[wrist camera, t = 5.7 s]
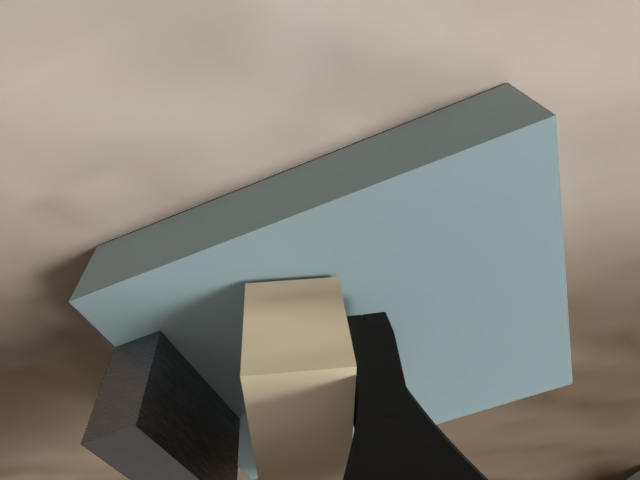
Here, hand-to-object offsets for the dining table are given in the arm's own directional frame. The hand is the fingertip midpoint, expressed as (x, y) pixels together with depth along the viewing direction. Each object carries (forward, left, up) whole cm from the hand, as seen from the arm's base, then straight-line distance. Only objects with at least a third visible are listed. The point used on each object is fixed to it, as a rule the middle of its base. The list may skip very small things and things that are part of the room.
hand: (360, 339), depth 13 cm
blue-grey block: (0, -2, -3) cm, 4 cm away
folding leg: (-3, -2, -1) cm, 3 cm away
